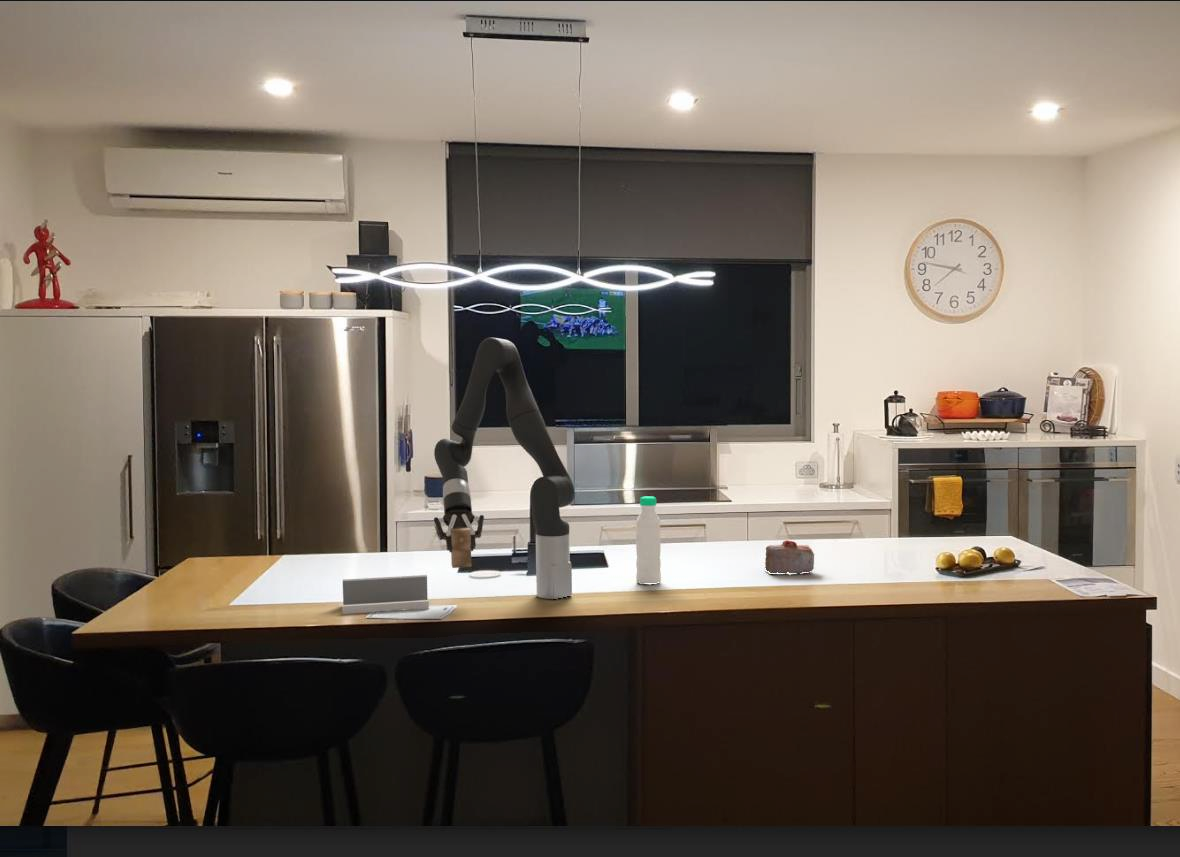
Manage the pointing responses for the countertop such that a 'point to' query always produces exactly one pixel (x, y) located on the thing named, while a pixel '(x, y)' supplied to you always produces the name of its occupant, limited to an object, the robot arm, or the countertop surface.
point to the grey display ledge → (384, 594)
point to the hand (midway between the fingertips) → (461, 549)
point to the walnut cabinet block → (461, 547)
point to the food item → (789, 558)
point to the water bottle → (648, 542)
